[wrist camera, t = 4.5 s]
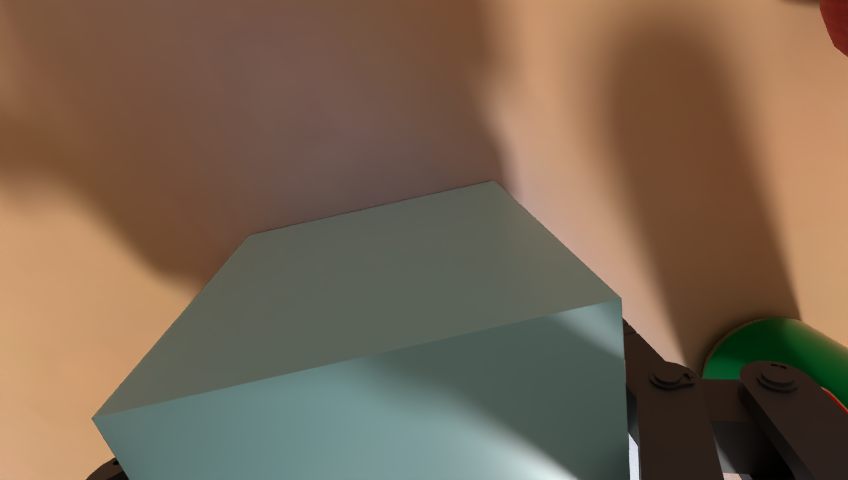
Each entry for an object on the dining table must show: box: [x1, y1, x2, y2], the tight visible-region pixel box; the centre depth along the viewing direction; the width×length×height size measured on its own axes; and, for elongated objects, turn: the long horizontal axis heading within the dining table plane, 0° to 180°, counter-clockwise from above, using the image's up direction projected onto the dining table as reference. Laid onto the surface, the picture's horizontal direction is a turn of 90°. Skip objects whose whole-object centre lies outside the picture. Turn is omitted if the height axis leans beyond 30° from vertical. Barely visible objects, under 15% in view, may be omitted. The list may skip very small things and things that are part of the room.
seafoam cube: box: [92, 180, 630, 480], centre depth 12 cm, size 9×9×9 cm
